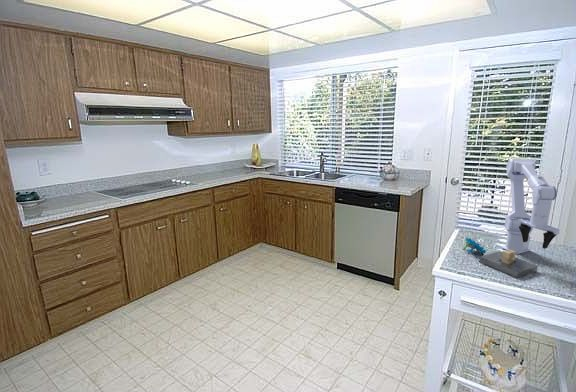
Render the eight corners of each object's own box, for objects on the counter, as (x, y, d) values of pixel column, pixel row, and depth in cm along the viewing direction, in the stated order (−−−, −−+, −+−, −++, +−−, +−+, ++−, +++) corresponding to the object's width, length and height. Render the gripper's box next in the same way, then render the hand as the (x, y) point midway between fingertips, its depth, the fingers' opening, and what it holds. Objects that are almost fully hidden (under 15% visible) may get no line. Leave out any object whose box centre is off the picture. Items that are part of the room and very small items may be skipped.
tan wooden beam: (506, 264, 136) (509, 249, 134) (513, 266, 133) (515, 251, 132) (500, 266, 134) (502, 251, 132) (506, 268, 132) (509, 253, 130)
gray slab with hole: (498, 256, 143) (499, 251, 143) (536, 271, 129) (537, 265, 128) (479, 261, 138) (479, 256, 138) (516, 277, 124) (517, 272, 124)
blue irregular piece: (491, 253, 142) (477, 239, 141) (482, 263, 143) (467, 248, 142) (475, 247, 153) (462, 234, 152) (467, 256, 154) (453, 242, 153)
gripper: (515, 211, 134) (511, 240, 137) (554, 220, 121) (548, 252, 124) (526, 209, 137) (521, 237, 140) (565, 218, 124) (558, 249, 127)
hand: (534, 244), depth 132 cm, fingers open, 7 cm apart
